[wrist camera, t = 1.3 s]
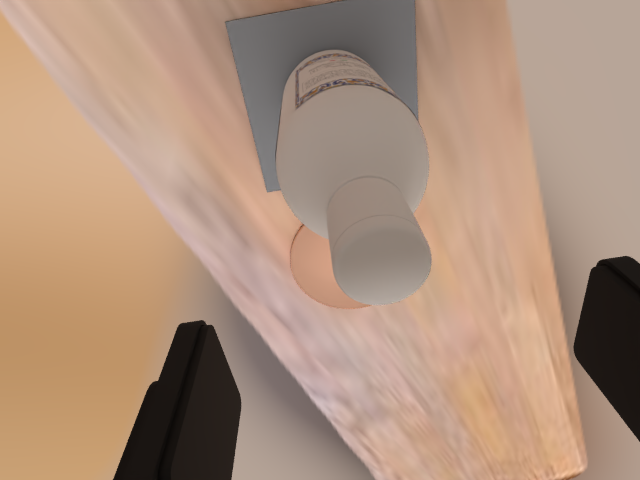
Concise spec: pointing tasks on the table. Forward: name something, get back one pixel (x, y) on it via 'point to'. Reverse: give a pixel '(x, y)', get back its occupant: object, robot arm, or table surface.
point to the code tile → (312, 37)
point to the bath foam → (355, 174)
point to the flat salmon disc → (317, 270)
